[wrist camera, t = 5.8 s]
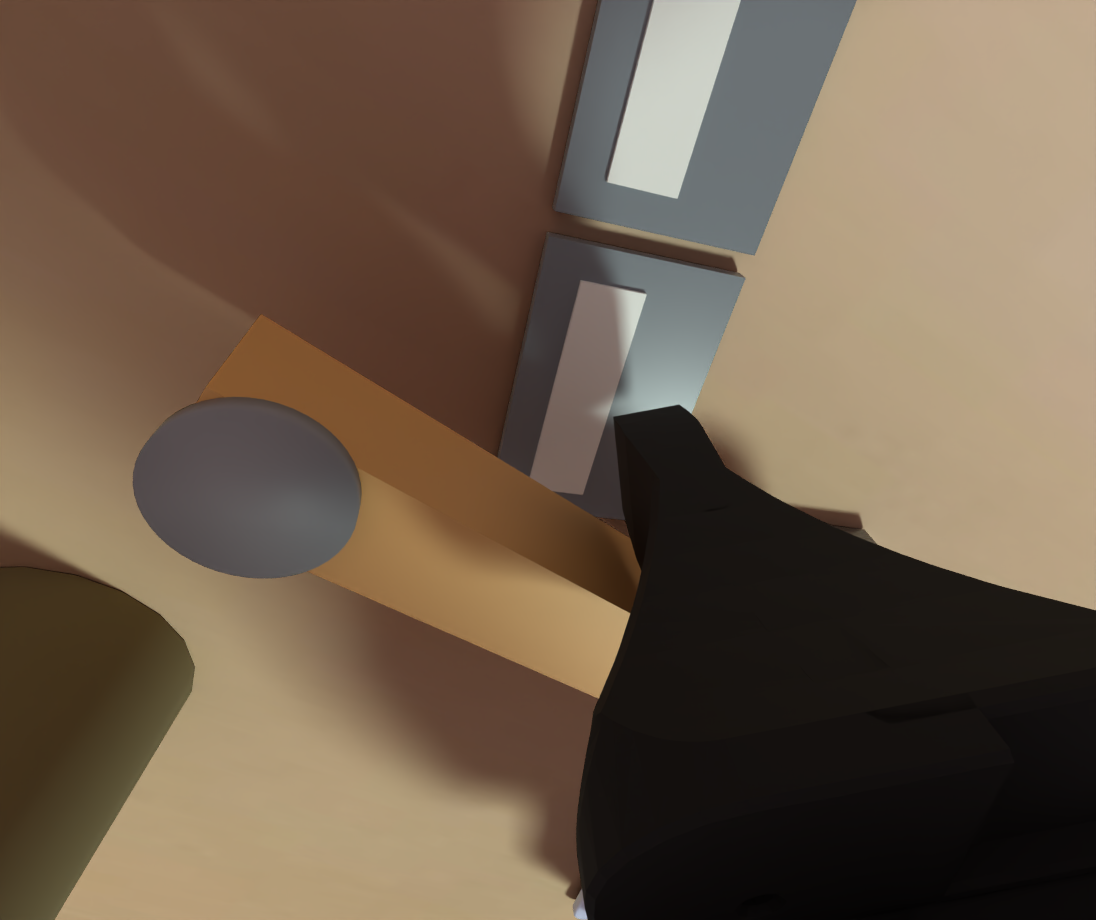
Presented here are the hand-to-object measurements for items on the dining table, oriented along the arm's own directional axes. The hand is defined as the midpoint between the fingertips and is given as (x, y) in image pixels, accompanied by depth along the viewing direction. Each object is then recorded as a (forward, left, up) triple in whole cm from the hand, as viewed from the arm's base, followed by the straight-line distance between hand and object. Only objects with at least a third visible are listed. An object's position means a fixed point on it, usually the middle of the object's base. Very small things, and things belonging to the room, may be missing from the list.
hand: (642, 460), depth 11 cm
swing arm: (-2, 0, 0) cm, 2 cm away
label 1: (+6, 0, -2) cm, 7 cm away
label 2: (0, 0, -2) cm, 2 cm away
